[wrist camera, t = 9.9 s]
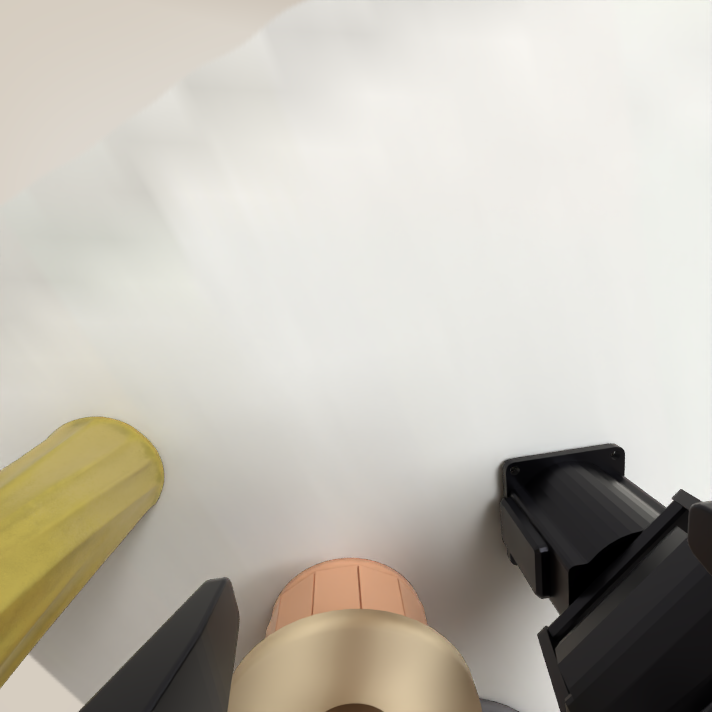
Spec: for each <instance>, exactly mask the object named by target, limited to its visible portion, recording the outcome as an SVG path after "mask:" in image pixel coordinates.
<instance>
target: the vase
mask: <svg viewBox="0 0 712 712" xmlns="http://www.w3.org/2000/svg"><path fill="white" fill-rule="evenodd" d="M163 483H164V470H163V465H162V461H161V459H160V456H159V454H158V452H157V450H156V449H155V447H154V446H153V445H152V443H151V442H150V441H149V440H148V439H147V438H146V437H145V436H143V435H142V434H141V433H140V432H139V431H137V430H136V429H135V428H133V427H132V426H130V425H128V424H126V423H124V422H121V421H118V420H115V419H111V418H106V417H86V418H81V419H77V420H73V421H71V422H68V423H66V424H64V425H62V426H61V427H60V428H58V429H57V430H56V431H54V432H53V433H52V434H51V435H50V436H49V437H48V439H47V440H45V441H44V442H42V443H41V444H39V445H38V446H36V447H35V448H33V449H32V450H31V451H29V452H28V453H26V454H25V455H23V456H22V457H20V458H19V459H18V460H16V461H14V462H13V463H11V464H10V465H8V466H6V467H5V468H3V469H2V470H0V688H1V687H2V686H3V685H4V683H5V682H6V681H7V680H8V678H9V677H10V676H11V675H12V673H13V672H14V671H15V670H16V668H17V667H18V666H19V665H20V663H21V662H22V661H23V660H24V658H25V657H26V656H27V655H28V654H29V652H30V651H31V650H32V649H33V647H34V646H35V645H36V644H37V643H38V641H39V640H40V639H41V638H42V636H43V635H44V634H45V633H46V631H47V630H48V629H49V628H50V627H51V625H52V624H53V623H54V622H55V620H56V619H57V618H58V617H59V616H60V614H61V613H62V612H63V611H64V610H65V608H66V607H67V606H68V605H69V604H70V602H71V601H72V600H73V599H74V598H75V596H76V595H77V594H78V593H79V592H80V591H81V589H82V588H83V587H84V586H85V584H86V583H87V582H88V581H89V580H90V578H91V577H92V576H93V575H94V574H95V572H96V571H97V570H98V569H99V568H100V566H101V565H102V564H103V563H104V562H105V561H106V559H107V558H108V557H109V556H110V555H111V553H112V552H113V551H114V550H115V549H116V548H117V546H118V545H119V544H120V543H121V542H122V540H123V539H124V538H125V537H126V536H127V535H128V533H129V532H130V531H131V530H132V529H133V527H134V526H135V525H136V524H137V523H138V521H139V520H140V519H141V518H142V517H143V515H144V514H145V513H146V512H147V511H148V510H149V509H150V508H151V507H152V506H153V505H154V504H155V503H156V502H157V500H158V498H159V496H160V493H161V491H162V487H163Z"/></svg>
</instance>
